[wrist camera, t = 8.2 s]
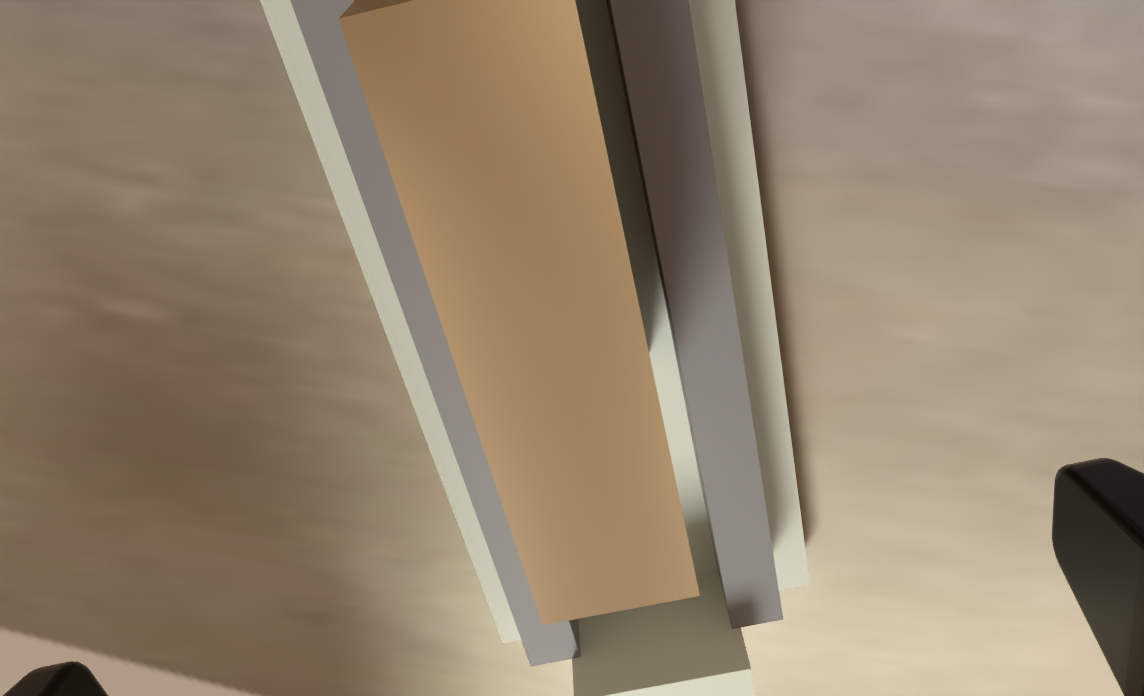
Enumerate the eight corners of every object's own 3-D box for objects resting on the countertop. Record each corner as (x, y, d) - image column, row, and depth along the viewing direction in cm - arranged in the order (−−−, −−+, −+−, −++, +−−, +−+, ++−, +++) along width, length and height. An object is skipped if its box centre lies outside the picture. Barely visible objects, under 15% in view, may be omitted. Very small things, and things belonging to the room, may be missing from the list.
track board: (674, -384, 14) (720, -443, 11) (799, 557, 24) (844, 682, 21) (185, -250, 15) (82, -266, 12) (503, 614, 25) (499, 744, 22)
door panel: (553, -100, 15) (568, -37, 9) (648, 355, 20) (699, 596, 14) (412, -65, 16) (338, 18, 10) (539, 377, 20) (542, 625, 14)
